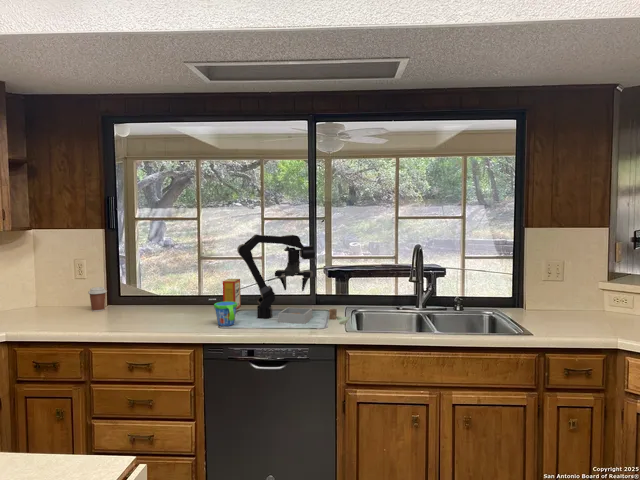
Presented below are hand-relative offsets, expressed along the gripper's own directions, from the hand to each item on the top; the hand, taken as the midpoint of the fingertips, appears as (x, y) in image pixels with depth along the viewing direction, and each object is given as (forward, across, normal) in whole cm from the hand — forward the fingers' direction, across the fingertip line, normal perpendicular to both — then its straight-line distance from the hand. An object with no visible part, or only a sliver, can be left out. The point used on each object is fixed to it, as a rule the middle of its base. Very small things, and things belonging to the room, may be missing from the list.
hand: (294, 290), depth 236 cm
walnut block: (+12, +4, -10) cm, 16 cm away
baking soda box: (+13, -39, +10) cm, 42 cm away
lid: (+14, +21, -4) cm, 25 cm away
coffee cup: (+13, -108, -11) cm, 109 cm away
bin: (+13, +4, -10) cm, 17 cm away
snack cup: (+13, -26, -24) cm, 38 cm away
